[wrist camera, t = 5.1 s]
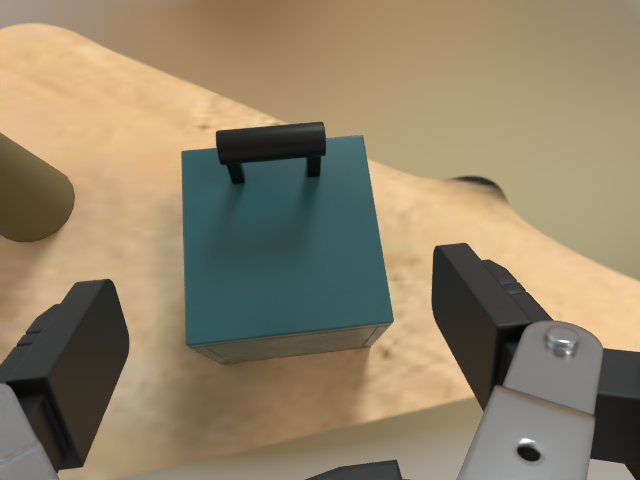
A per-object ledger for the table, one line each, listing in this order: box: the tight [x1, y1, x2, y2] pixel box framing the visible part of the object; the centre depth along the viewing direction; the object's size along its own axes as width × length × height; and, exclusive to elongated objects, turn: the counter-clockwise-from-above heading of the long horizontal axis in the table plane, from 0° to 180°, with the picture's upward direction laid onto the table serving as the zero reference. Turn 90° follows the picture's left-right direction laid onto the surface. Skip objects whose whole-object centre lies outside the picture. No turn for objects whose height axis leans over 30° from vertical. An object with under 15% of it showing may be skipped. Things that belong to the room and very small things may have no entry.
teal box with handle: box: [181, 122, 394, 347], centre depth 23 cm, size 10×10×5 cm
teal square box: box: [190, 325, 390, 364], centre depth 30 cm, size 10×10×9 cm
